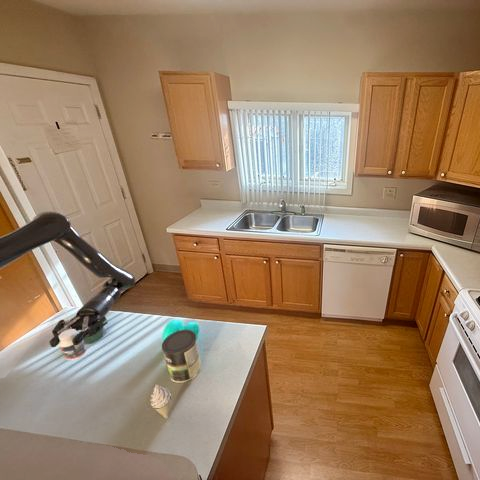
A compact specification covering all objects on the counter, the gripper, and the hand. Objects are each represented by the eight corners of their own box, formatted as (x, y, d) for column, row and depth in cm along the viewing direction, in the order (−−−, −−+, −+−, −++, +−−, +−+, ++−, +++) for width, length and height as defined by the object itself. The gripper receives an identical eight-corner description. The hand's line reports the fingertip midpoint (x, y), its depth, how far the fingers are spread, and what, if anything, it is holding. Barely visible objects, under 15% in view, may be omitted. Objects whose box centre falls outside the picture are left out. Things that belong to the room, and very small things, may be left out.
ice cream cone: (155, 417, 76) (143, 383, 70) (173, 405, 79) (163, 372, 73) (160, 430, 73) (148, 396, 67) (179, 418, 76) (169, 384, 70)
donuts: (187, 354, 97) (182, 335, 93) (163, 350, 98) (158, 330, 94) (202, 335, 106) (198, 316, 102) (180, 332, 107) (176, 313, 103)
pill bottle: (60, 359, 80) (50, 339, 77) (76, 346, 85) (66, 326, 82) (77, 361, 80) (67, 340, 77) (91, 348, 85) (82, 327, 81)
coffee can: (173, 389, 84) (165, 358, 78) (166, 367, 91) (158, 338, 86) (205, 372, 90) (200, 342, 85) (197, 353, 97) (191, 325, 92)
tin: (77, 346, 98) (74, 340, 97) (85, 332, 104) (83, 326, 103) (101, 341, 101) (99, 335, 100) (108, 328, 107) (105, 322, 106)
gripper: (70, 301, 90) (30, 337, 75) (116, 298, 93) (86, 332, 77) (77, 317, 93) (40, 355, 78) (121, 314, 96) (93, 350, 80)
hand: (63, 344), depth 78 cm, fingers closed on pill bottle, 5 cm apart
